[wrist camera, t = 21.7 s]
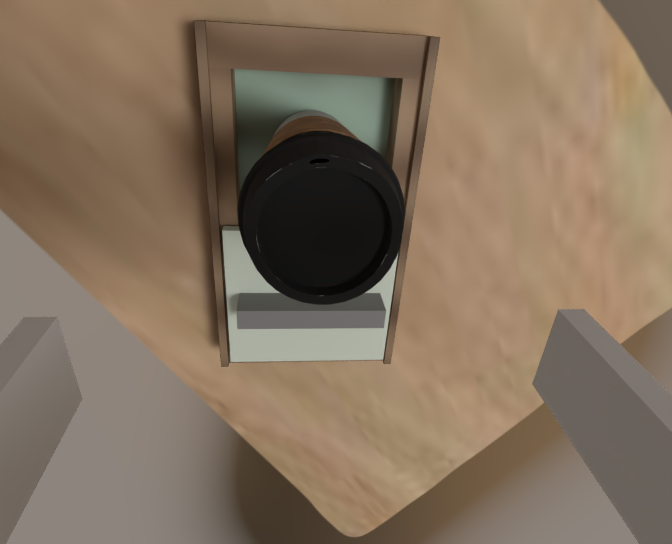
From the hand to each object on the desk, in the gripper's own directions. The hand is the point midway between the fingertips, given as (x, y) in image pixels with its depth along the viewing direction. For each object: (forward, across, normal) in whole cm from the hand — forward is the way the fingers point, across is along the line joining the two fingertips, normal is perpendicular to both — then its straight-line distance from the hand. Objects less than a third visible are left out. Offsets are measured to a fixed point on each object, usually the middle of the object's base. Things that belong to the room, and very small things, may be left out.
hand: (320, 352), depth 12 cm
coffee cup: (+24, +1, -1) cm, 24 cm away
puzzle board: (+25, +1, -6) cm, 25 cm away
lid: (+21, +1, -12) cm, 24 cm away
